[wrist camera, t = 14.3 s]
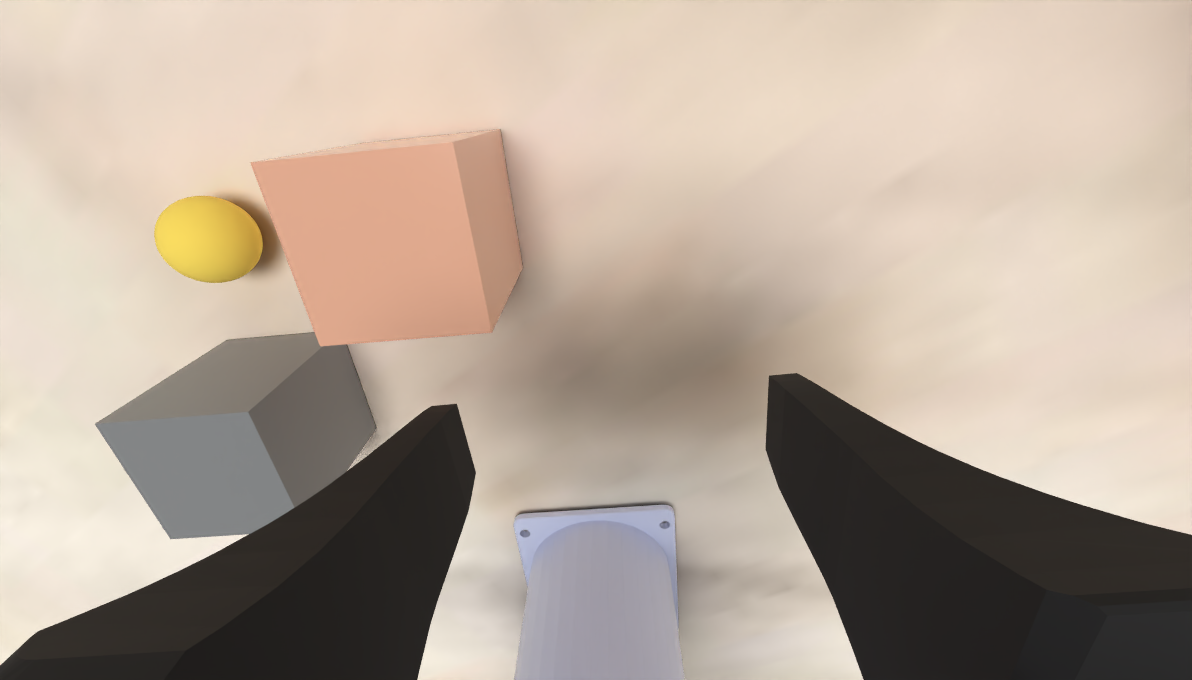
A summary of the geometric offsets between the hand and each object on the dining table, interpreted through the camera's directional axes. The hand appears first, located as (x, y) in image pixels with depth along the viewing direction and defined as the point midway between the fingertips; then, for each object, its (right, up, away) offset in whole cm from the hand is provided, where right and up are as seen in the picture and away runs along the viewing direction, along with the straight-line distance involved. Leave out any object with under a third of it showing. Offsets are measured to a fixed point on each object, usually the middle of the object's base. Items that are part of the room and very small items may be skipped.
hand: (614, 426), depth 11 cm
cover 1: (-13, 0, +10) cm, 17 cm away
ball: (-14, +6, +7) cm, 17 cm away
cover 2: (-6, +7, +7) cm, 11 cm away
